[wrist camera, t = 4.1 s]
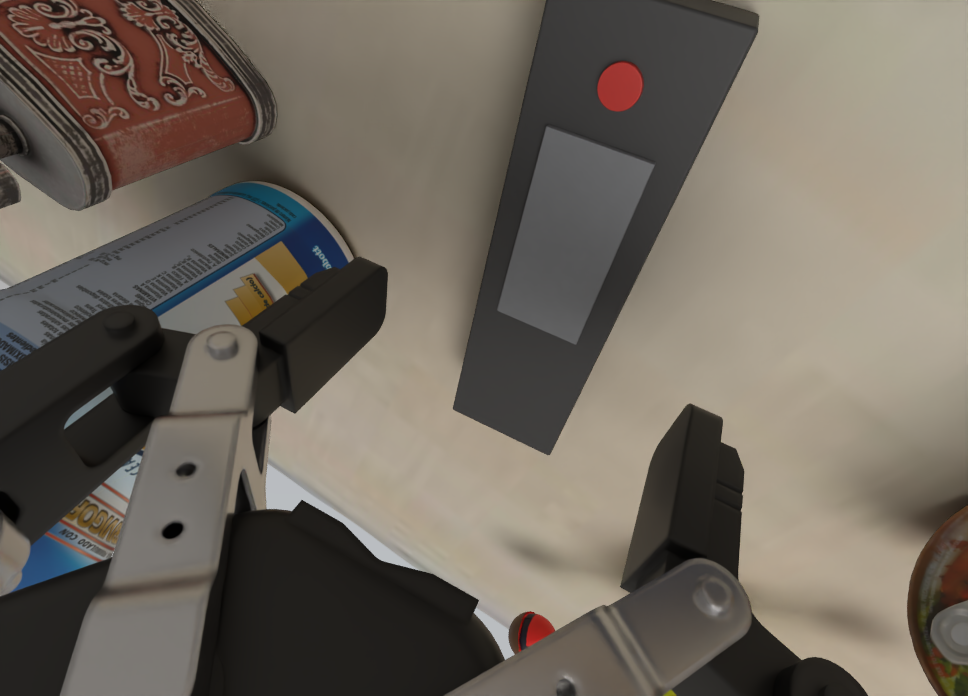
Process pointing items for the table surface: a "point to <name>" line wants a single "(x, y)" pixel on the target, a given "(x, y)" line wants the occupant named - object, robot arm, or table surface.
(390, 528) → the table surface
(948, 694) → the tin
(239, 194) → the beverage bottle
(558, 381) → the remote
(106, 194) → the lighter
